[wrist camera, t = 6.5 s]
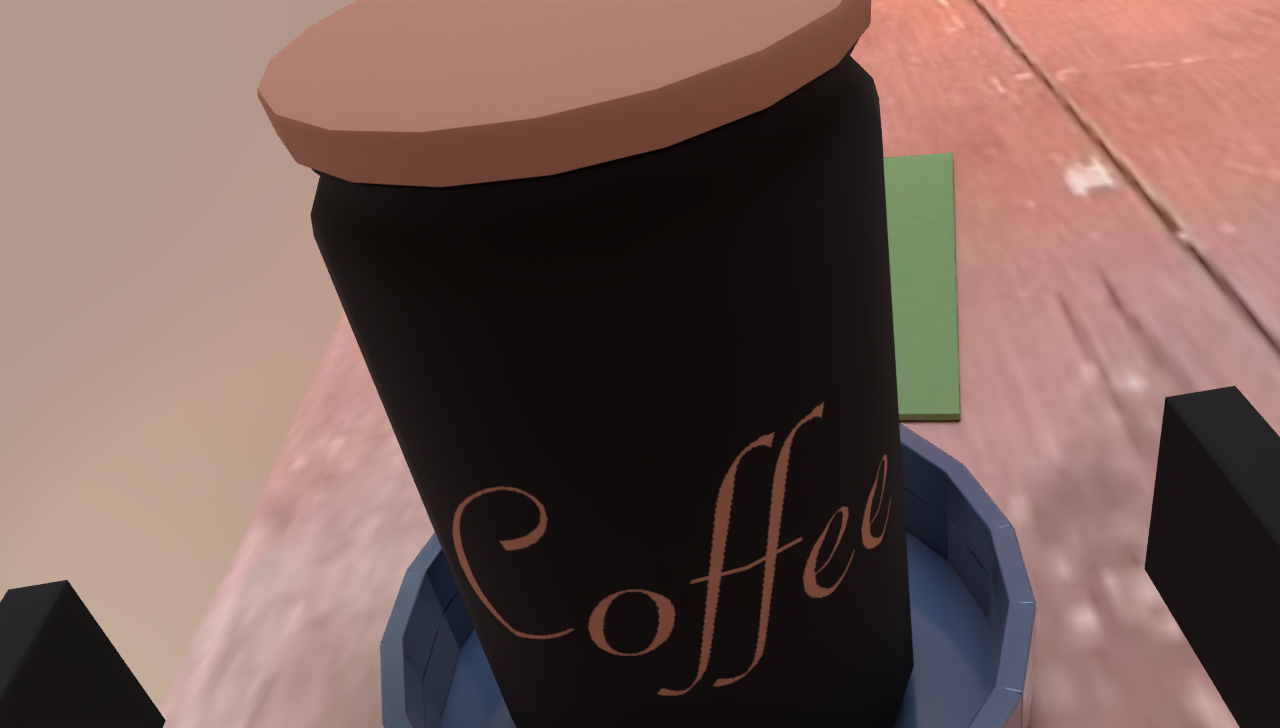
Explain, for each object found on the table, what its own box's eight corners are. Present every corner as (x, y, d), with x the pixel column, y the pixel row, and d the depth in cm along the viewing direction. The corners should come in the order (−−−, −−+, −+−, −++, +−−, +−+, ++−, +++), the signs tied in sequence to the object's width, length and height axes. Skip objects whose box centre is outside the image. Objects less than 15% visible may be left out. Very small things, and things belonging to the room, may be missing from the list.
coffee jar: (498, 885, 24) (153, 185, 14) (534, 555, 33) (336, -23, 23) (964, 835, 23) (947, 39, 13) (874, 507, 32) (822, -121, 22)
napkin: (562, 187, 56) (561, 181, 56) (952, 158, 51) (952, 152, 50) (420, 423, 41) (418, 417, 41) (960, 420, 35) (960, 413, 35)
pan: (577, 451, 37) (554, 370, 35) (1059, 515, 31) (1063, 419, 29) (303, 869, 26) (245, 783, 24) (975, 1113, 19) (973, 1024, 17)
